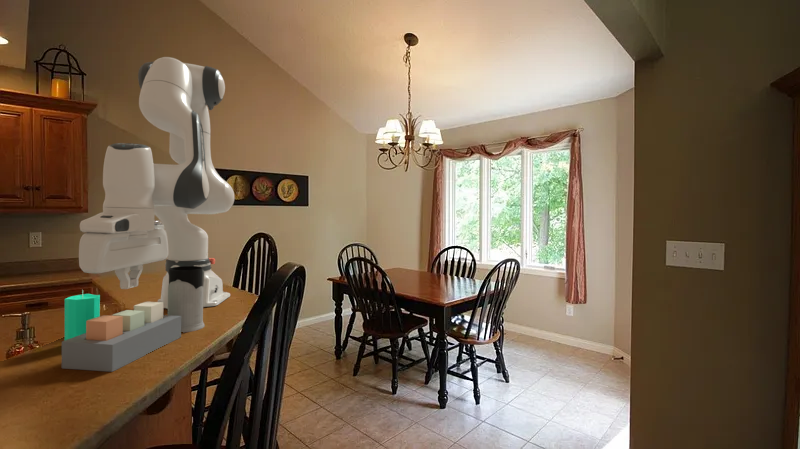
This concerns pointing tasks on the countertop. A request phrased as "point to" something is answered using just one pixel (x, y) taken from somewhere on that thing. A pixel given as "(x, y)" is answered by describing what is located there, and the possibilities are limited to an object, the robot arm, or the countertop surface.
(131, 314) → the key mid
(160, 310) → the key
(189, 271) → the grey black ceramic vase
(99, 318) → the key
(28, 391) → the countertop surface
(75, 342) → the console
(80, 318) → the candle
